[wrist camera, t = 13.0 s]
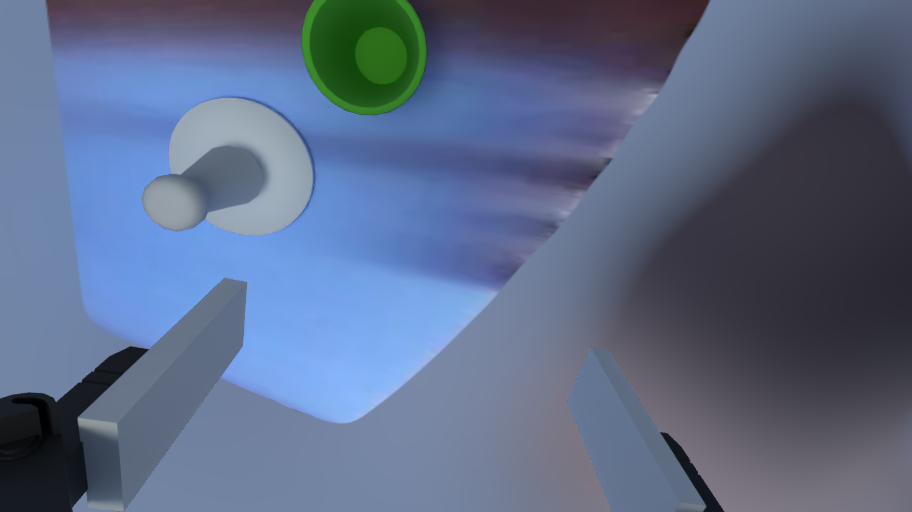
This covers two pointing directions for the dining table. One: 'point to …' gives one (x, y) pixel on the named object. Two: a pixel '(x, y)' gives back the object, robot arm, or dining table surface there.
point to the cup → (364, 52)
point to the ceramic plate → (266, 143)
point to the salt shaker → (203, 188)
